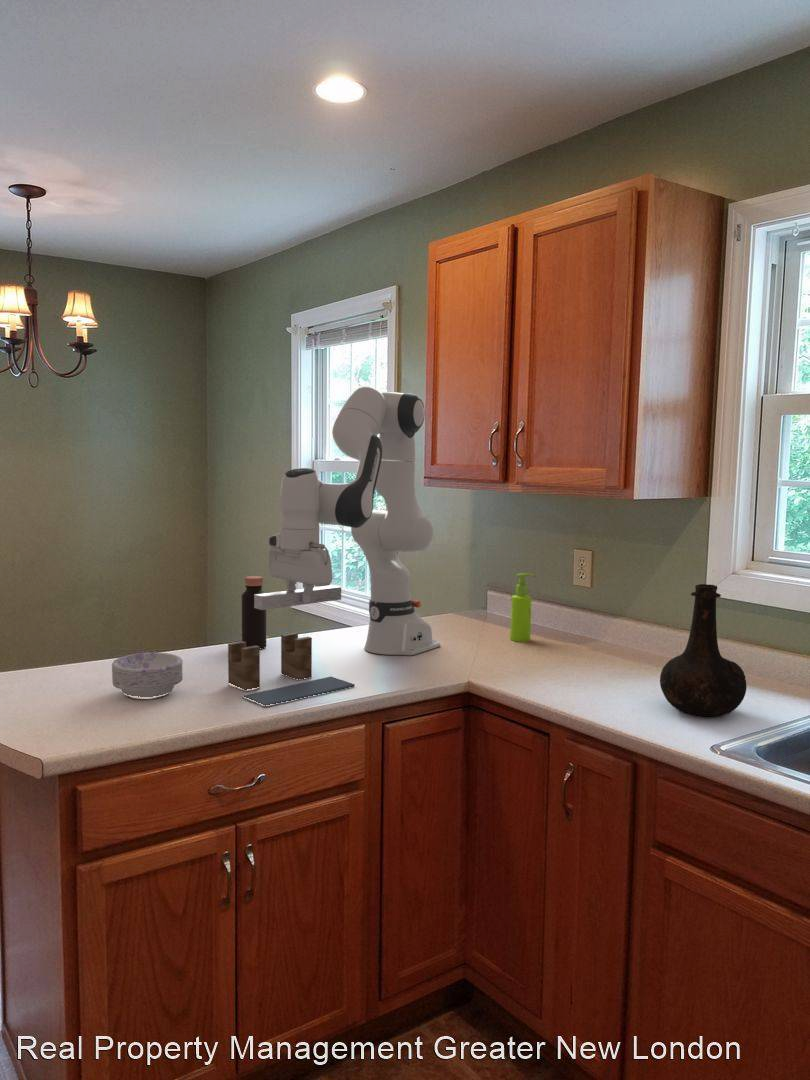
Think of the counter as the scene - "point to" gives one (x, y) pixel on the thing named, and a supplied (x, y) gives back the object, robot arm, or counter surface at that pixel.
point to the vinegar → (253, 614)
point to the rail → (295, 597)
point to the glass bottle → (703, 666)
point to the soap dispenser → (521, 611)
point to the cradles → (248, 661)
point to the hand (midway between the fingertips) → (299, 601)
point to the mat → (299, 690)
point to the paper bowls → (147, 673)
